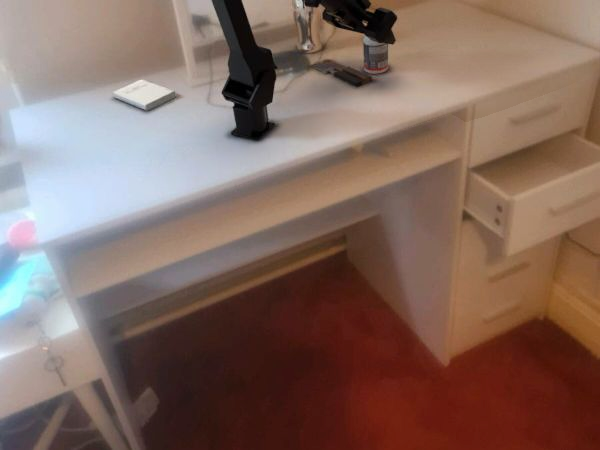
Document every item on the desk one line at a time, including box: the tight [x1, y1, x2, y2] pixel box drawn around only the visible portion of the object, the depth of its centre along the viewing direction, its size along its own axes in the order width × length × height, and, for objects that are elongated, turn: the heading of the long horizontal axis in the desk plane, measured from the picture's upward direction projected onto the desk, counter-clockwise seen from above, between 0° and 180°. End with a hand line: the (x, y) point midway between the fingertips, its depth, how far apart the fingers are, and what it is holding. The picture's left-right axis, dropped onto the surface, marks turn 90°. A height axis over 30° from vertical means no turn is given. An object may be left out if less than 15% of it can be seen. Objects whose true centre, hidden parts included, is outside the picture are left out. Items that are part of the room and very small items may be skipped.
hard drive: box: [112, 79, 177, 112], centre depth 134 cm, size 2×8×12 cm
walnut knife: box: [321, 59, 373, 84], centre depth 135 cm, size 16×2×1 cm, turn 34°
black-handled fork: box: [311, 61, 363, 88], centre depth 134 cm, size 16×3×1 cm, turn 34°
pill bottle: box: [362, 35, 389, 75], centre depth 131 cm, size 5×5×10 cm
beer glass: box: [290, 0, 323, 54], centre depth 143 cm, size 7×7×15 cm
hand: (380, 37), depth 131 cm, fingers open, 9 cm apart
